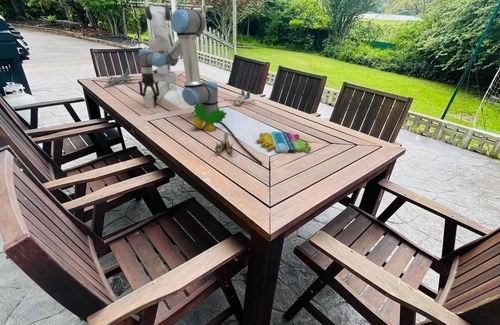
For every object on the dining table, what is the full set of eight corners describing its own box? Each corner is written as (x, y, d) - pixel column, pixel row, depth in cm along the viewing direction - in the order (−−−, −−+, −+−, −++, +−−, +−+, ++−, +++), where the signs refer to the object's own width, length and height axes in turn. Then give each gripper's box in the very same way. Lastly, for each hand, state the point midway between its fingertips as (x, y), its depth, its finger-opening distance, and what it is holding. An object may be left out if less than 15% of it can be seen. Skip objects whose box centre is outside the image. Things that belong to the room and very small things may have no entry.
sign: (313, 150, 142) (258, 149, 139) (312, 153, 143) (258, 152, 140) (301, 132, 164) (254, 130, 161) (301, 134, 165) (254, 133, 162)
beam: (153, 108, 192) (151, 96, 188) (145, 107, 192) (143, 96, 188) (169, 88, 244) (168, 79, 240) (163, 88, 243) (162, 79, 239)
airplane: (101, 79, 257) (98, 68, 252) (135, 77, 270) (133, 67, 265) (102, 89, 228) (99, 78, 223) (140, 87, 242) (138, 76, 237)
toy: (261, 91, 228) (254, 99, 202) (261, 99, 231) (253, 108, 205) (231, 87, 233) (220, 95, 207) (230, 95, 236) (219, 104, 210)
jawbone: (234, 135, 144) (233, 125, 135) (233, 160, 138) (232, 151, 129) (217, 135, 144) (216, 125, 135) (216, 160, 138) (214, 150, 129)
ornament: (218, 133, 171) (224, 110, 169) (221, 134, 163) (227, 111, 161) (186, 125, 162) (192, 101, 160) (189, 126, 155) (195, 101, 153)
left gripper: (175, 70, 233) (176, 86, 240) (152, 69, 232) (154, 85, 238) (174, 72, 228) (175, 88, 235) (150, 71, 226) (152, 87, 233)
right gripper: (162, 72, 190) (165, 103, 201) (135, 71, 188) (139, 102, 200) (159, 74, 183) (162, 106, 195) (131, 73, 182) (136, 105, 193)
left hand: (164, 86), depth 237 cm, fingers closed on beam, 5 cm apart
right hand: (151, 104), depth 197 cm, fingers open, 6 cm apart
